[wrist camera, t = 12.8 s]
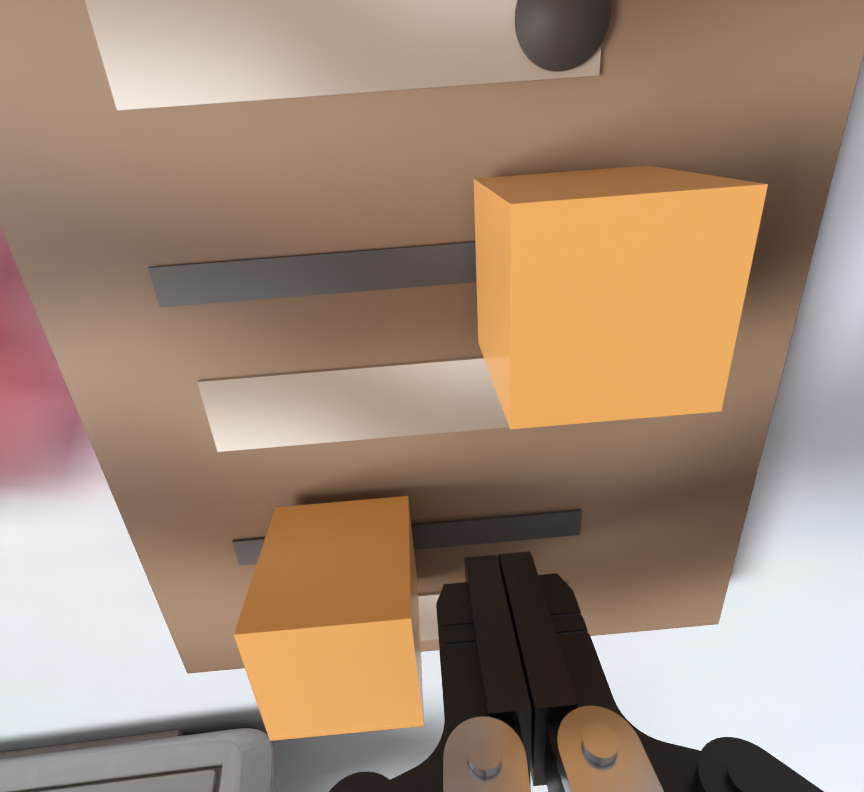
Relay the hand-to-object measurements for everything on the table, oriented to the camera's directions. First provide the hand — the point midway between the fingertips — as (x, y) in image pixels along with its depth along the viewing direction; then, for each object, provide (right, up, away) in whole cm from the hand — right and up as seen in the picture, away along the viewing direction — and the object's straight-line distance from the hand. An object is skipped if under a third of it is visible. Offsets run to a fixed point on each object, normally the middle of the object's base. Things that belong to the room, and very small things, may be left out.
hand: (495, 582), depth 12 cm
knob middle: (+1, +7, -2) cm, 7 cm away
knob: (-4, 0, +1) cm, 4 cm away
